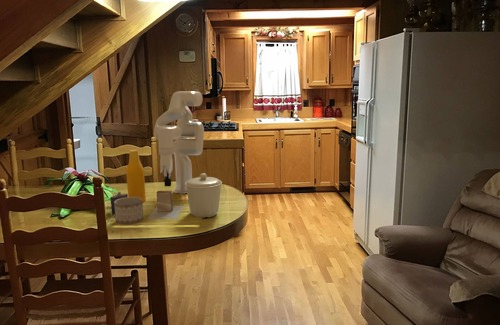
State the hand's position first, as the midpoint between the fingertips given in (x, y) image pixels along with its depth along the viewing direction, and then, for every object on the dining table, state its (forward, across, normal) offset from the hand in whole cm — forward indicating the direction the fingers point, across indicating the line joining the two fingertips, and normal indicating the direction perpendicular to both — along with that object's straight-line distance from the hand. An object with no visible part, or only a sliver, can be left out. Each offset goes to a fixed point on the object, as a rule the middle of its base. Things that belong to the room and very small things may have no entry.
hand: (167, 185), depth 210 cm
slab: (+11, +9, 0) cm, 14 cm away
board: (+12, +11, +1) cm, 16 cm away
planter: (+12, +22, -14) cm, 29 cm away
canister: (+12, +13, +20) cm, 27 cm away
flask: (+12, +8, -23) cm, 27 cm away
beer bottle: (+12, -8, -19) cm, 23 cm away
